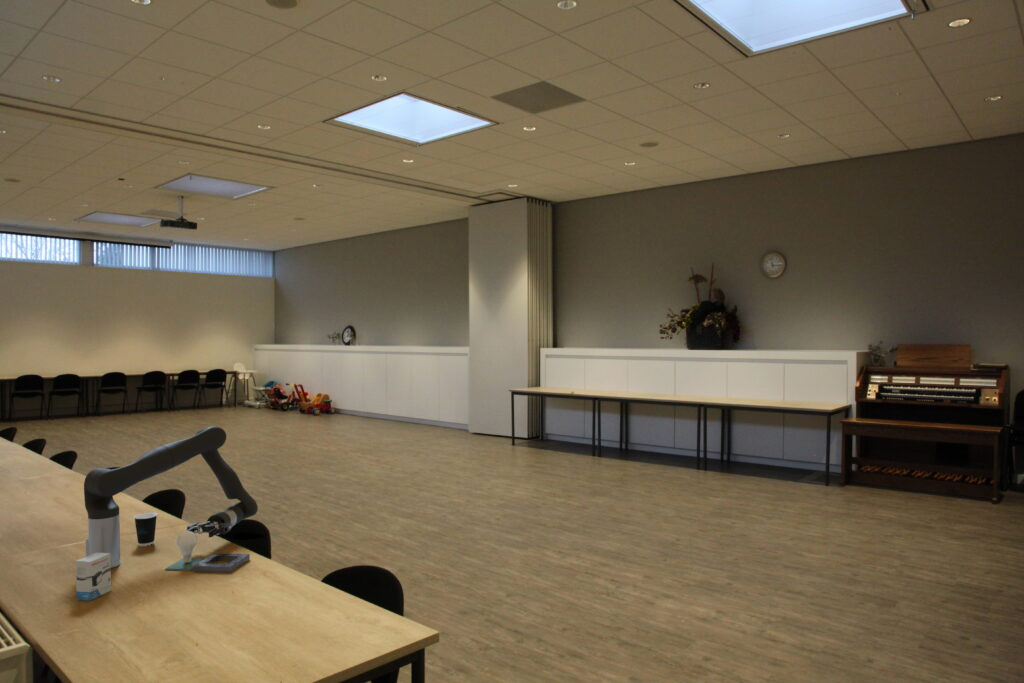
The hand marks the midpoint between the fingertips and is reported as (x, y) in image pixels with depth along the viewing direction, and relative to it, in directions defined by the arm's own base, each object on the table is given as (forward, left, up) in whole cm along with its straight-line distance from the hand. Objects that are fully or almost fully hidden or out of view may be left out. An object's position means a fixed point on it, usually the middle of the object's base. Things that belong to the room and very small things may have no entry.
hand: (198, 534), depth 241 cm
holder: (+12, -7, -8) cm, 16 cm away
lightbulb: (0, -7, -8) cm, 10 cm away
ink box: (-13, -35, -9) cm, 38 cm away
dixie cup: (-29, +14, -9) cm, 34 cm away
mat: (0, -7, -8) cm, 11 cm away
